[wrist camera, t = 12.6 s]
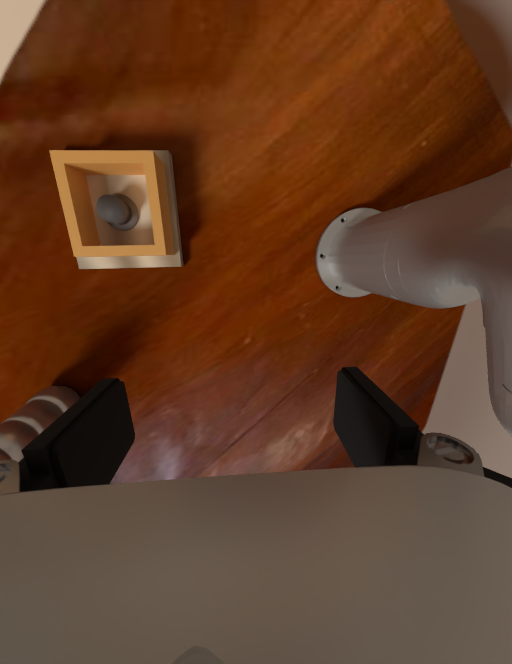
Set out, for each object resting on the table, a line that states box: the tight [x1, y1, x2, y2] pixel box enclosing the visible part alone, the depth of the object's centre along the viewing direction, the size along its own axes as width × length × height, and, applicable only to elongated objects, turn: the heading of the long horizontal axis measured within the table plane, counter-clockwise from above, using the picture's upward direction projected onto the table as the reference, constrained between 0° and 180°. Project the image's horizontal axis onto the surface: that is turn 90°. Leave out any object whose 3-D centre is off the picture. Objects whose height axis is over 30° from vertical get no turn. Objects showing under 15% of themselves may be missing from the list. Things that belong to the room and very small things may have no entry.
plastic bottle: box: [0, 386, 80, 462], centre depth 31 cm, size 6×7×20 cm
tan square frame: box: [49, 150, 174, 257], centre depth 30 cm, size 11×11×4 cm
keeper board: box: [77, 150, 184, 269], centre depth 31 cm, size 14×14×4 cm
